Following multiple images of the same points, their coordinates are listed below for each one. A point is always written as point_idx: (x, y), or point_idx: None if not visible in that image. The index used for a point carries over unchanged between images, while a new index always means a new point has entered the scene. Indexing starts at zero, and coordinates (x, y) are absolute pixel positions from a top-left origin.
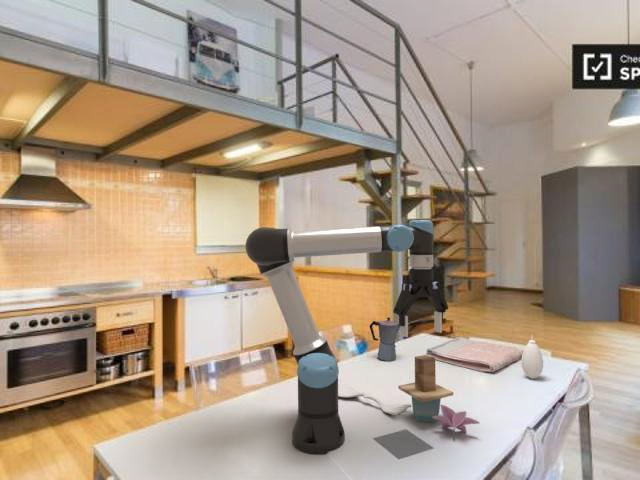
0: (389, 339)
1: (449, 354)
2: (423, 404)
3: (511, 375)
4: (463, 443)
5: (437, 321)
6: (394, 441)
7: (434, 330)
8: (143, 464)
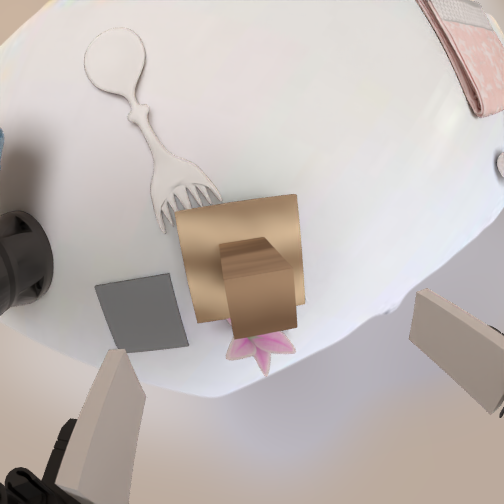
0: None
1: (448, 26)
2: None
3: (487, 138)
4: None
5: (457, 355)
6: (128, 308)
7: (418, 295)
8: None
